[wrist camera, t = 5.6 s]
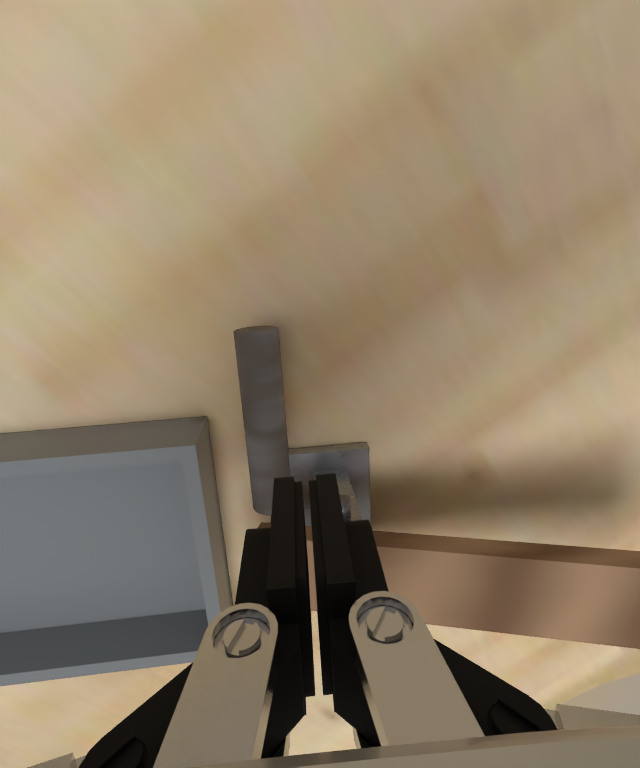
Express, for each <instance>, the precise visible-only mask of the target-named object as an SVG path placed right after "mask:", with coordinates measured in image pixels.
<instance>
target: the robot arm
mask: <svg viewBox="0 0 640 768" xmlns="http://www.w3.org/2000/svg"><path fill="white" fill-rule="evenodd" d="M308 482H309V496H310V511H311V526H312V540H313V555H314V570H315V584H316V598H317V613H318V627H319V641H320V656H321V670H322V685H323V695H329V694H333V701H334V712H336V713H337V714H338V715H340V716H341V717H342V718H343V719H344V720H346V721H347V722H348V723H349V724H350V725H351V726H353V734H354V741H355V744H356V748H357V749H351V750H342V751H332V752H322V753H312V754H303V755H293V756H288V755H289V748H290V731H291V730H292V729H293V728H294V727H295V726H296V724H297V723H298V722H299V721H300V720H301V719H302V717H303V716H304V715H306V697H309V696H315V682H314V663H313V644H312V625H311V606H310V587H309V569H308V554H307V541H306V527H305V514H304V500H303V486H302V481H298V482H295V481H294V476H293V477H280V478H274V485H273V500H272V515H271V527H270V528H257V529H247V530H246V534H245V540H244V547H243V554H242V561H241V567H240V574H239V581H238V587H237V594H236V601H235V605H234V606H231V607H228V608H227V609H225V610H223V611H222V612H220V613H219V614H218V615H217V616H216V617H215V618H214V619H213V620H212V621H211V622H210V624H209V626H208V627H207V629H206V631H205V634H204V636H203V639H202V641H201V644H200V647H199V649H198V652H197V654H196V657H195V660H194V662H193V663H192V664H190V665H189V666H188V667H187V668H185V669H184V670H183V671H182V672H181V673H179V674H178V675H177V676H176V677H175V678H173V679H172V680H171V681H170V682H169V683H167V684H166V685H165V686H164V687H163V688H161V689H160V690H159V691H158V692H157V693H155V694H154V695H153V696H152V697H151V698H149V699H148V700H147V701H146V702H145V703H143V704H142V705H141V706H140V707H139V708H137V709H136V710H135V711H134V712H133V713H131V714H130V715H129V716H128V717H127V718H125V719H124V720H123V721H122V722H121V723H119V724H118V725H117V726H116V727H114V728H113V729H112V730H111V731H110V732H108V733H107V734H106V735H105V736H104V737H102V738H101V739H100V740H99V741H98V742H97V743H96V744H95V745H94V746H93V747H92V748H91V750H90V751H89V752H88V754H87V755H86V756H83V757H80V758H77V759H75V758H74V755H73V753H70V754H67V755H64V756H61V757H58V758H55V759H52V760H49V761H46V762H43V763H40V764H37V765H34V766H31V767H28V768H640V715H635V714H627V713H619V712H612V711H605V710H598V709H590V708H583V707H575V706H568V705H561V704H556V709H555V710H549V709H544V708H543V707H542V706H541V705H540V704H539V703H537V702H536V701H535V700H533V699H532V698H531V697H529V696H528V695H527V694H525V693H523V692H522V691H520V690H518V689H517V688H515V687H513V686H512V685H510V684H508V683H507V682H505V681H503V680H502V679H500V678H498V677H497V676H495V675H493V674H492V673H490V672H488V671H487V670H485V669H483V668H482V667H480V666H478V665H477V664H475V663H473V662H472V661H470V660H468V659H467V658H465V657H463V656H462V655H460V654H458V653H457V652H455V651H453V650H452V649H450V648H448V647H447V646H445V645H443V644H442V643H440V642H438V641H437V640H435V639H433V637H432V635H431V633H430V631H429V629H428V628H427V626H426V624H425V622H424V620H423V618H422V616H421V614H420V612H419V611H418V609H417V608H416V607H415V605H414V604H413V603H412V602H411V601H409V600H408V599H407V598H405V597H404V596H401V595H399V594H397V593H394V592H389V591H388V587H387V583H386V579H385V576H384V572H383V568H382V565H381V561H380V557H379V554H378V550H377V546H376V543H375V539H374V535H373V532H372V528H371V524H370V521H369V520H355V521H344V517H343V511H342V506H341V500H340V495H339V489H338V484H337V478H336V474H335V473H332V474H319V475H316V480H310V481H308Z"/></svg>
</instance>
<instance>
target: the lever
mask: <svg viewBox="0 0 640 768" xmlns="http://www.w3.org/2000/svg"><path fill="white" fill-rule="evenodd" d="M234 339H235V348H236V357H237V366H238V375H239V384H240V392H241V401H242V410H243V419H244V428H245V437H246V446H247V454H248V463H249V472H250V481H251V490H252V499H253V507H254V510H255V511H256V512H258V513H260V514H263V515H272V500H273V485H274V478H280V477H290V465H289V453H288V441H287V428H286V416H285V404H284V392H283V380H282V368H281V355H280V343H279V331H278V328H277V327H274V326H254V327H246V328H241V329H237V330H235V331H234ZM270 527H271V523H263V522H261V523H260V525H259V527H258V528H270ZM305 527H306V541H307V554H308V569H309V587H310V606H311V611H317V598H316V584H315V570H314V555H313V540H312V526H305ZM372 532H373V535H374V539H375V543H376V546H377V550H378V554H379V557H380V561H381V565H382V568H383V572H384V576H385V579H386V583H387V587H388V591H389V592H394V593H397V594H399V595H401V596H404V597H405V598H407V599H408V600H409V601H411V602H412V603H413V604H414V605H415V607H416V608H417V609H418V611H419V612H420V614H421V616H422V618H423V620H424V622H425V624H430V625H439V626H448V627H456V628H465V629H473V630H482V631H491V632H499V633H508V634H516V635H525V636H533V637H542V638H551V639H559V640H568V641H576V642H585V643H594V644H602V645H611V646H619V647H628V648H637V649H640V551H628V550H615V549H602V548H589V547H576V546H563V545H550V544H537V543H524V542H511V541H498V540H485V539H472V538H459V537H446V536H433V535H420V534H407V533H394V532H381V531H372Z"/></svg>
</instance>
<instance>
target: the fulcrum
mask: <svg viewBox="0 0 640 768" xmlns="http://www.w3.org/2000/svg"><path fill="white" fill-rule="evenodd" d="M288 453H289V465H290V477H293V476H294V481H295V482H298V481H302V486H303V500H304V514H305V526H311V511H310V496H309V482H308V481H310V480H316V475H319V474H332V473H335V474H336V478H337V484H338V489H339V495H340V500H341V506H342V511H343V517H344V521H355V520H369V521H370V524H371V515H370V470H369V447H368V444H367V442H363V443H352V444H341V445H330V446H319V447H308V448H297V449H288Z"/></svg>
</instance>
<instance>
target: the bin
mask: <svg viewBox="0 0 640 768" xmlns="http://www.w3.org/2000/svg"><path fill="white" fill-rule="evenodd" d="M231 606H233V601H232V593H231V586H230V579H229V572H228V565H227V557H226V550H225V543H224V536H223V529H222V521H221V514H220V507H219V500H218V493H217V486H216V478H215V471H214V464H213V457H212V450H211V442H210V435H209V428H208V421H207V416H205V417H193V418H181V419H169V420H157V421H146V422H134V423H122V424H110V425H98V426H86V427H74V428H62V429H50V430H38V431H26V432H14V433H2V434H0V686H6V685H14V684H22V683H30V682H38V681H46V680H54V679H62V678H70V677H78V676H86V675H94V674H102V673H110V672H118V671H126V670H134V669H142V668H150V667H158V666H166V665H174V664H182V663H190V662H194V660H195V657H196V654H197V652H198V649H199V647H200V644H201V641H202V639H203V636H204V634H205V631H206V629H207V627H208V626H209V624H210V622H211V621H212V620H213V619H214V618H215V617H216V616H217V615H218V614H219V613H220V612H222V611H223V610H225V609H227V608H228V607H231Z"/></svg>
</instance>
